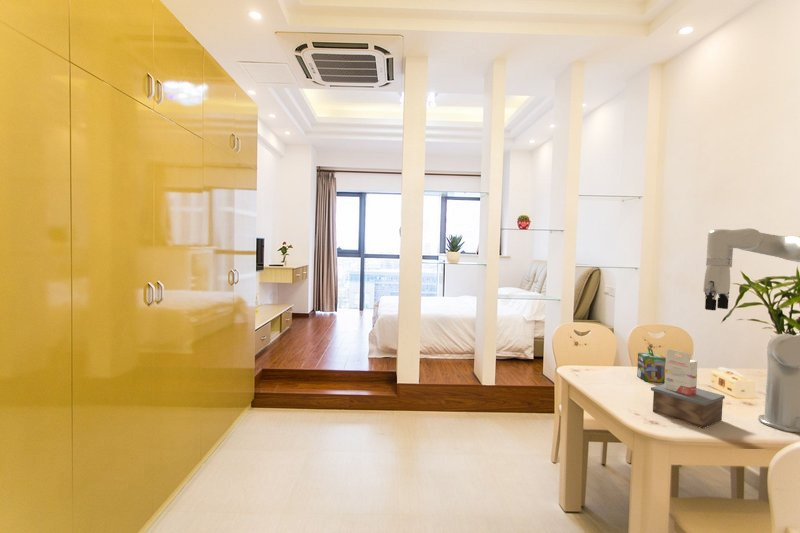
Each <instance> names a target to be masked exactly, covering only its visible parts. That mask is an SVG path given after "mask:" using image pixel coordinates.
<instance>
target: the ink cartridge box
mask: <svg viewBox="0 0 800 533" xmlns="http://www.w3.org/2000/svg"><path fill="white" fill-rule="evenodd" d="M678 354H679V355H678ZM691 355H692V354H691V353H689V352H684V351H680V350H675V349H670V348H667V349H666V356H665V358H666V364H665V383H664V384H665V389H668V390H672V391H675V392H679V393H682V394H685V395H693V394H696V388H697V386H698V384H697V383H698V360H693V359H691Z"/></svg>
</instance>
